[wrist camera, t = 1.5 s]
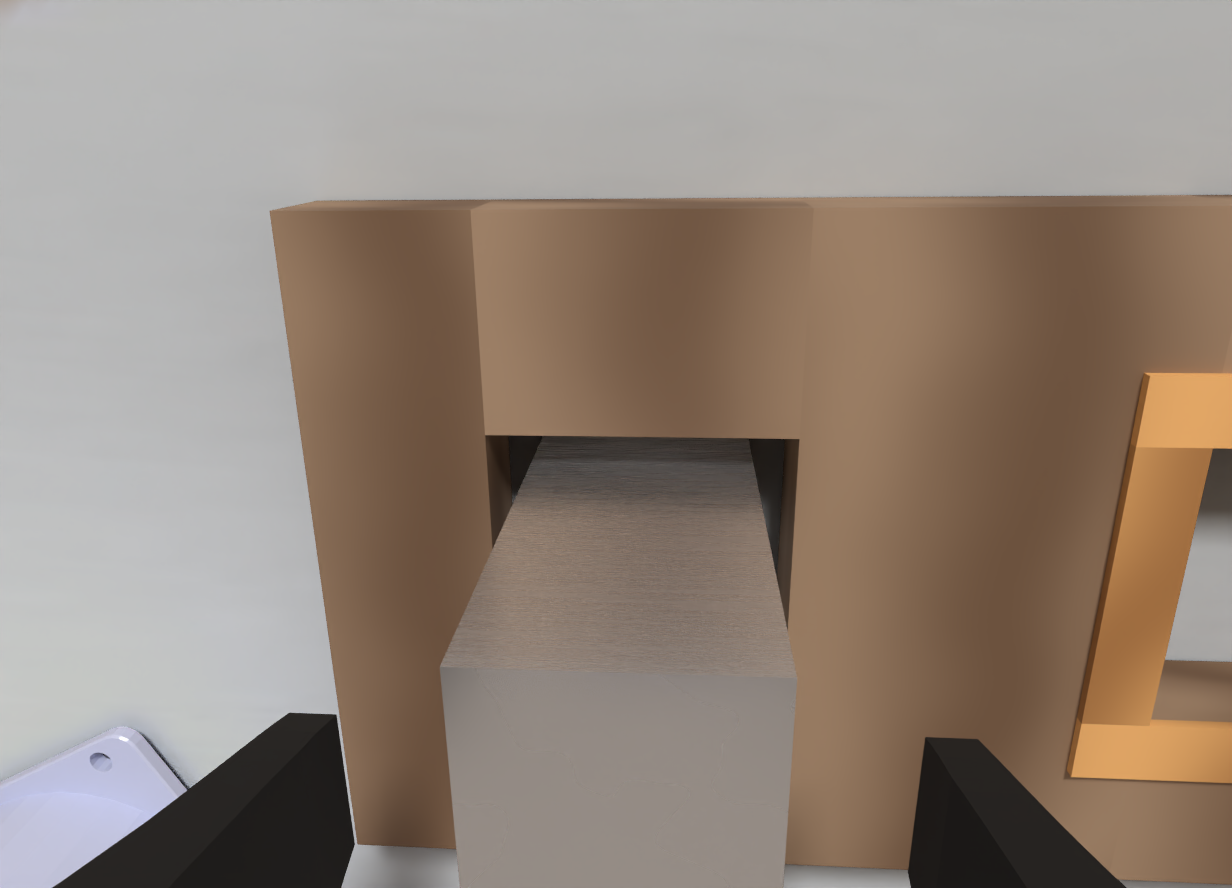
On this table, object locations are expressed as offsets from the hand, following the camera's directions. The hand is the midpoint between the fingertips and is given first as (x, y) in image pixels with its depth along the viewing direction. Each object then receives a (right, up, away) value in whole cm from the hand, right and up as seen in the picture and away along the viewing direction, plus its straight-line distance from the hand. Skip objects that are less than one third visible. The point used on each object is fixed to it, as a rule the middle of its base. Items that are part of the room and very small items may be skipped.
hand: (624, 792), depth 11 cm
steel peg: (0, +3, +7) cm, 8 cm away
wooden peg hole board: (+6, +2, +7) cm, 10 cm away
